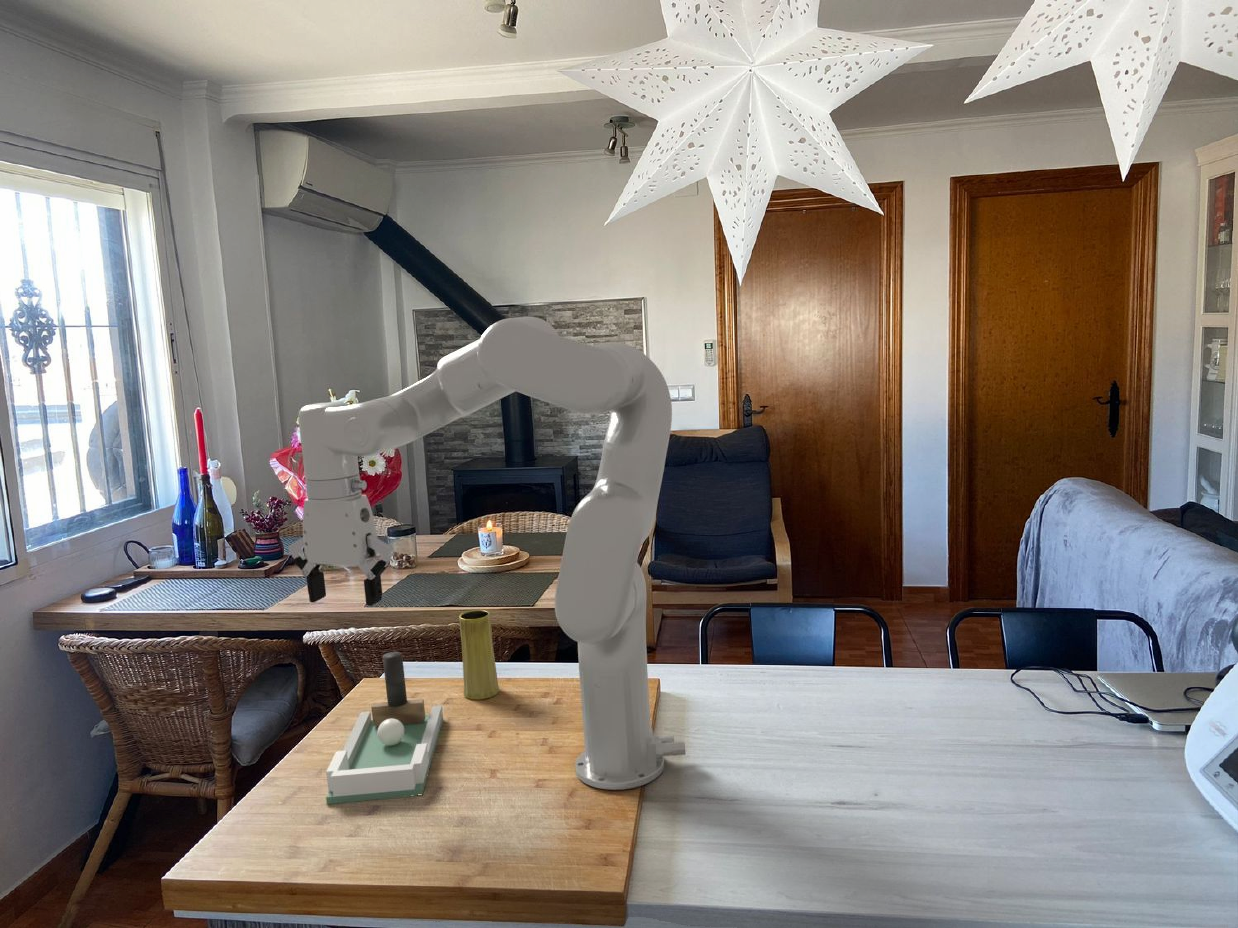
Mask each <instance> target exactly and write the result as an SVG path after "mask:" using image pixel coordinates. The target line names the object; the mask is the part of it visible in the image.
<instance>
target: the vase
mask: <svg viewBox="0 0 1238 928" xmlns="http://www.w3.org/2000/svg"><path fill="white" fill-rule="evenodd" d="M458 619H459V631H460V632H459V633H460V639H461V640H460V641H461V654H462V674H463V676H462V677H463V678H462V679H463V696H464V697H465V698H466V699H467V700H468V699H469V700H472V701H473V700H474V701H481V700H486V699H490V698H493V697H494V696H496V695H498V693H499V691H500V687H499V681H498V675H497V674H498V673H497V668H496V667H497V666H496V660H495V659H496V658H495V653H494V644H493V632H492V631H493V630H492V620H491V612H490V611H488V610H486V609H472V610H467V611H464V612H462V613H460V614H459V616H458Z"/></svg>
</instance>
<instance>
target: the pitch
mask: <svg viewBox="0 0 1238 928" xmlns="http://www.w3.org/2000/svg"><path fill="white" fill-rule="evenodd" d="M443 721H444V713H443V705H442V704H441V705H440V704H439V705H432V706H431V711H430V713H429V714H425V721H424V722H415V723H403V726H404V736H403V738H402V740H401V741H400V742H399V743H398V744H396V745H393V746H387V745H384V744H383V743H381V742H380V740H379V738H378V735H377V731H378V728H379V726H373V719H372V712H371V711H362V712H360V713H359V716H358V717H357V719H356V722H355V724H354V726H353V728H352V730H351V731H350V734H349V736H348V739H347V740H346V743H345V744H344V746H343V750H338V751H337V750H336V752H335V753H334V755H333V757H332V759H331V761H330V763H329V765H328V767H327V769H326V771H325V772H326V781H327V789H328V792H327V794H326V796H325V800H326V801H325V802H326V805H331V804H333V805H334V804H342V803H344V804H345V803H354V802H355V803H356V802H365V801H366V800H367V801H375V800H374V799H378V800H388V798H389V799H398V798H397V797H400V798H405V797H404V796H411V795H418V794H424V792H423V790H424V791H425V788H424V786H425V787H426V784H427V781H426V779H427V780H428V777H427V775H429V773H428V771H429V772H430V770H429V768H430V769H431V766H430V764H431V765H432V762H433V759H432V757H433V758H434V755H433V754H434V753H435V752H436V748H435V747H437V744H436V743H438V741H437V740H439V737H440V733H441V730H440V729H441V728H442V726H443V723H444V722H443ZM431 761H432V762H431ZM425 783H426V784H425ZM393 797H395V798H393ZM411 797H412V796H411ZM372 799H373V800H372ZM367 801H366V802H367Z"/></svg>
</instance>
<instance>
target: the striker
mask: <svg viewBox="0 0 1238 928" xmlns="http://www.w3.org/2000/svg"><path fill="white" fill-rule="evenodd" d="M403 660H404V659H403V653H402V652H400V651H391V652H387V653H385V654H383V655H382V662H383V671H384V680H385V681H384V682H385V689H386V690H385V691H386V699H387V701H384V702H382V701H381V702H373V703H372V704H371V707H370V708H371V719H372V720H373V726H380V724H381V723H382V722H383V721H385V720H387V719H391V718H392V719H397V720H399V721H400V722H401V723H402V724H403V723H415V722H424V721H425V715H426V711H425V708H426V707H425V701H424V698H419V699H408V698H407V697H408V695H407V688H406V678H405V677H406V676H405V670H404V669H405V668H404V661H403Z"/></svg>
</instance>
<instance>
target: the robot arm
mask: <svg viewBox="0 0 1238 928" xmlns="http://www.w3.org/2000/svg"><path fill="white" fill-rule="evenodd" d="M515 392H517V393H520V394H523V395H525V396H528V397H531V398H534V399H536V400H539V401H543V402H546V403H549V404H551V405H555V406H557V407H561V408H563V409H566V410H568V411H569V410H570V411H572V412H575V413H579V414H583V415H588V416H589V415H591V416H592V415H594V416H599V415H604V414H607V413H609V423H608V427H607V430H606V433H605V437H604V441H603V446H602V452H601V459H600V463H599V468H598V472H597V476H596V480H595V484H594V486H593V488H592V490H590V492H589V493H588V494H587V495H586V496H584V498H582V499H581V500H580V502H578V504H577V505H576V507H575V508H574V510H573V512H572V515H571V518H570V520H569V523H568V526H567V530H566V535H565V540H564V544H563V545H564V546H563V551H562V556H561V562H560V567H559V571H558V572H559V573H558V578H557V583H556V590H555V595H554V612H555V617H556V619H557V620H556V621H557V623H558V625H559V627H560V628H561V629H562V631H563V632H564V633H565V635H566V636H568V637H569V638H570V639H571V640H573V641H575V642H577V654H578V656H577V658H578V673H579V686H580V687H579V690H580V700H581V701H580V703H581V715H582V716H581V717H582V725H583V726H582V728H583V729H582V730H583V739H584V740H583V741H584V744H583V745H584V751H582V753H580V754H579V755H578V757H577V758H576V759H575V763H574V766H575V769H574V770H575V774H576V777H578V779H579V780H581V782H583V783H584V784H586V785H588V786H590V787H593V788H597V789H601V790H602V789H603V790H609V791H610V790H611V791H617V790H618V791H619V790H627V789H634V788H638V787H641V786H644V785H646V784H649V783H650V782H652V781H654V780H656V779H657V778H658V777H659V776H660V775H661V773H663V771H664V768H665V759H664V758H665V757H667V756H668V757H669V756H672V757H673V756H674V757H676V756H677V757H678V756H685V755H686V744H685V741H684V740H679V741H678V740H676V741H675V736H674V735H666V736H659V737H658V735H657V734H656V735H654V730H653V727H652V726H651V725H652V724H651V708H650V692H649V678H648V677H649V675H648V654H647V653H648V652H647V632H646V631H647V628H646V627H647V626H646V625H647V621H646V620H647V583H646V578H645V575H644V572H643V570H642V568H641V565H640V564H639V563H638V558H639V555H640V551H641V546H643V544H644V542H645V541H646V539H648V537H649V536H650V534H651V532H652V530H653V528H654V525H655V521H656V514H657V508H658V501H659V497H660V491H661V486H662V482H663V475H664V472H665V464H666V458H667V453H668V447H669V443H670V435H671V429H672V421H673V420H672V419H673V418H672V417H673V408H672V407H673V406H672V405H673V404H672V398H671V393H670V390H669V387H668V383H667V381H666V379H665V377H664V375H663V373H662V372H661V370H660V369H659V367H658V366H657V365H656V363H655V362H654V361H652V360H651V358H650V357H648V356H647V355H646V354H645V353H644V352H642V351H641V350H639V349H638V348H637V347H635V346H632V345H630V344H627V343H623V342H615V341H611V342H605V343H599V344H596V345H591V344H589V343H584V342H580V341H577V340H574V339H570V338H568V337H564V336H561V335H559V334H558V332H557V330H556V329H555V328H554V327H553V326H552V324H550V323H549V322H548V321H547V320H544V319H542V318H540V317H537V316H521V317H519V316H518V317H509V318H504V319H501V320H498V321H495V322H494V323H493V324H491V325H490V326H489V327H487V329H486V330H485V331H484V332H483V333H482V335H481V337H480V338H479V339H477V340H475V341H473V342H470V343H469V344H467V345H465V346H463V347H461V348H459V349H457V350H455V351H453V352H451V353H449V354H447V355H445V356H443V357H442V358H441V359H440V360H439V361H438V362H437V367H436V369H435V370H434V371H433V372H432V373H431V374H429V375H428V376H427V377H425V378H423V379H421V380H419V381H417V382H416V383H414V384H412V385H410V386H408V387H405V388H404V389H402V390H400V391H398V392H396V393H393V394H392V395H391V394H390V395H389V396H384V397H380V398H376V399H371V400H367V401H363V402H360V403H355V404H354V403H353V404H350V405H349V404H347V403H344V402H339V401H336V402H335V401H330V402H317V403H312V404H311V403H310V404H306V405H305V406H303V407H301V408H300V410H299V412H298V415H297V416H298V426H299V428H298V429H299V436H300V446H301V453H302V455H301V456H302V463H303V471H304V480H305V481H304V482H305V488H306V489H305V491H306V498H305V499H304V500H303V501H304V502H303V509H302V510H303V511H302V512H303V513H302V536H303V537H301V538H299V539H297V540H296V541H294V542H293V543H291V544H290V545H288V547H287V548H288V551H289V553H290V555H291V557H292V559H293V560H294V564H295V565H296V566H297V568H299V569H300V570H301V574H302V576H303V577H305V578H306V584H307V593H308V599H309V603H314V604H315V603H316V602H318V601H319V600H321V599H323V598H326V596H327V589H326V583H325V582H326V581H325V574H324V571H323V570H321V568H322V566H327V567H328V566H329V567H331V566H333V567H358V569H360V571H361V573H363V575H364V576H366V578H365V579H364V580H363V586H364V587H363V588H364V598H365V604H366V606H368V607H372V606H373V605H375V604H376V603H379V602H380V601H382V599H383V585H382V577H381V575H383V574H384V573H385V570H386V569H387V568H388V567H389V565H390V564H391V560H392V557H393V554H394V553H395V552H394V551H395V549H394V547H393V546H391V545H389V544H388V543H386V542H385V541H383V540H381V539H379V538H378V535H377V528H376V524H375V519H374V518H375V517H374V515H373V511H372V507H371V505H370V501H369V498H368V497H367V494H362V491H365V490H366V489H367V487H368V485H367V482H366V480H362V479H361V477H360V476H361V475H360V469H359V459H358V457H375V456H376V455H380V454H382V453H385V452H389V451H390V450H393V449H397V448H400V447H402V446H404V445H407V444H410V443H413V442H414V441H417V440H418V439H420V438H422V437H424V436H427V435H429V434H430V433H432V432H434V431H437V430H438V429H440V428H443V427H444V426H446V425H448V424H450V423H453V422H454V421H456V420H458V419H461V418H465V417H468V416H469V415H471V414H473V413H475V412H477V411H479V410H481V409H483V408H485V407H487V406H489V405H491V404H493V403H495V402H496V401H498V400H501V399H503V398H504V397H507V396H508V395H511V394H513V393H515ZM377 557H379V560H377V559H376V558H377Z"/></svg>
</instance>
